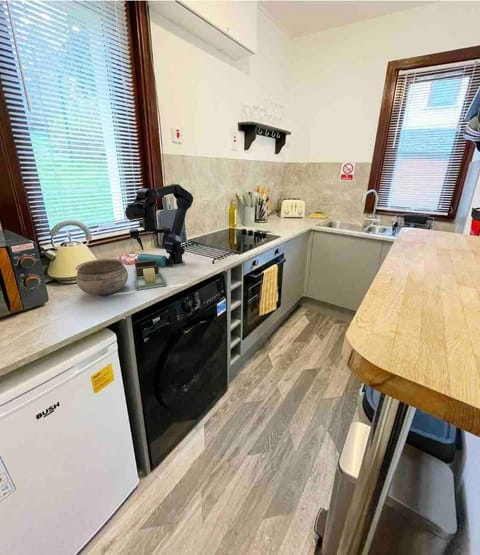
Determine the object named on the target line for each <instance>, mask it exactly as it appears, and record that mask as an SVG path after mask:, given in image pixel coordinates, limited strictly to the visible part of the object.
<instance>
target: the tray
mask: <svg viewBox="0 0 480 555" xmlns="http://www.w3.org/2000/svg"><path fill="white" fill-rule="evenodd" d="M155 277H156V278H161V280H162V282H160V281H159V282H156V283H153V284H145V283H144V284H138V281H137V280H144V276H141V277H137V276H135V277H134V281H135V282H134V283H135V288H136V291H137V292H138V291H143V290H144V291H146V290H151V289H152V290H153V289H158V288H164V287H165V288H166V287H167V284H166V282H167V281H166V280H165V278H164V275H163V274H162V273H159V274H156V275H155Z"/></svg>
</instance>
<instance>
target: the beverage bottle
mask: <svg viewBox="0 0 480 555" xmlns="http://www.w3.org/2000/svg"><path fill="white" fill-rule="evenodd" d="M151 260H156V266H157V265H158V268H159V267H162V268H164V267H167V266H168V267H170V266H171V267H172V266H174V264H173V263H174V260H173V259H172V258H169V257H168V256H166V255H162V254H151V253H139V254H138V256H137V258H136V262H142V261H151Z"/></svg>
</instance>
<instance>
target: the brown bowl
mask: <svg viewBox="0 0 480 555" xmlns="http://www.w3.org/2000/svg"><path fill="white" fill-rule="evenodd" d="M75 270H76V271H77V273H76V278H75V279H76V284H77V287H78V288H79V289H80V290H81V291H82V292H84V293H87V294H90V295H94V296H99V297H107V296H111V295H113V294H114V293H116V292H117V291H119V290H121V289H122V288H123V287H124V286H125V285H126V284H127V282H128V280H129V272H128V270H127V267H125V261H124V260H122V259H120V258H99V259H93V260H89V261H85V262H82V263H80V264H78V265H77V266H76V267H75Z"/></svg>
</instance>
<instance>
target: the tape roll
mask: <svg viewBox="0 0 480 555" xmlns="http://www.w3.org/2000/svg"><path fill="white" fill-rule="evenodd" d="M143 275H144V279H143V281H144V285H145V284H153V283H157V280H156V278H157V277H155V271H154V268H147V269H143Z"/></svg>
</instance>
